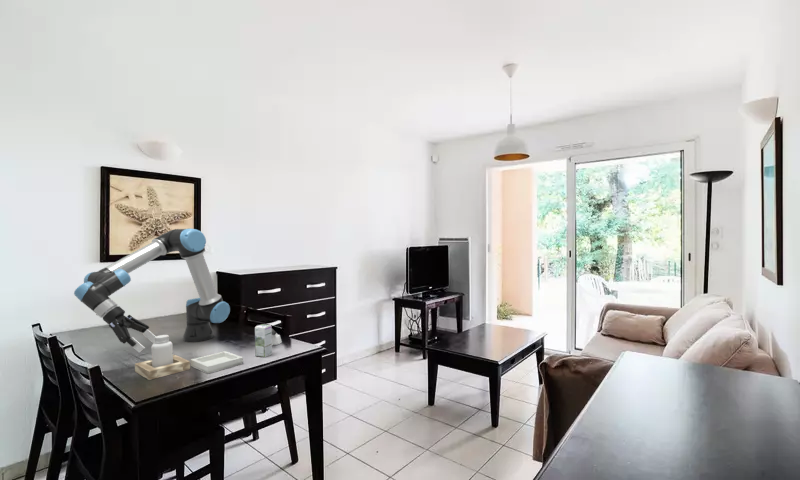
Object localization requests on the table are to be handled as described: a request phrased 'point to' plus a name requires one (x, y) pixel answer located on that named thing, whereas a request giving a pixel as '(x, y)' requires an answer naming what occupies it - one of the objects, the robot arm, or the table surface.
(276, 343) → the inkwell
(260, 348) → the syrup box
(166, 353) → the pill bottle
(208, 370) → the tray
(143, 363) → the holder
